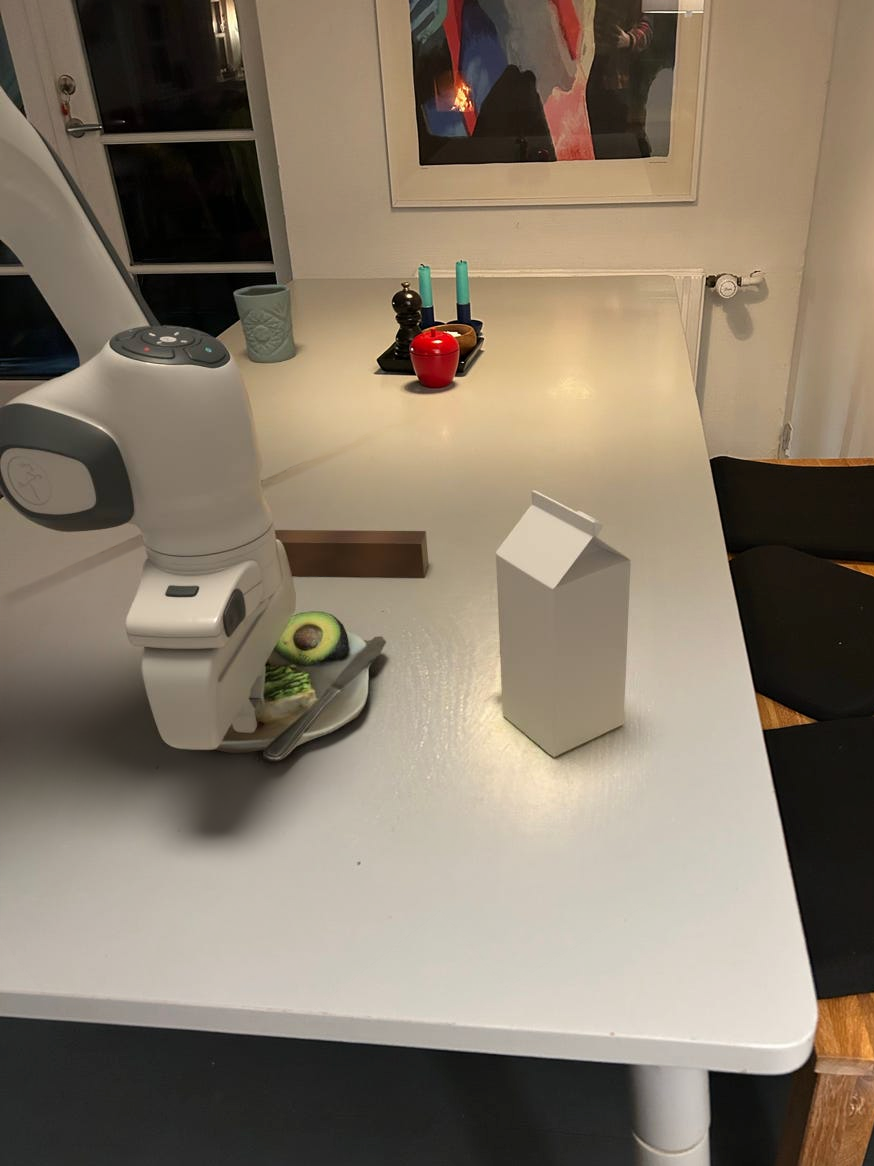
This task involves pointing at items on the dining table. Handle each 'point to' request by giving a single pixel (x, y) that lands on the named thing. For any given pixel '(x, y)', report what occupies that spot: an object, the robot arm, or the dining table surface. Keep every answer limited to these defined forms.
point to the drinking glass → (266, 322)
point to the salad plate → (309, 685)
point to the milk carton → (562, 627)
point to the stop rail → (355, 553)
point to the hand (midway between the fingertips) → (250, 722)
